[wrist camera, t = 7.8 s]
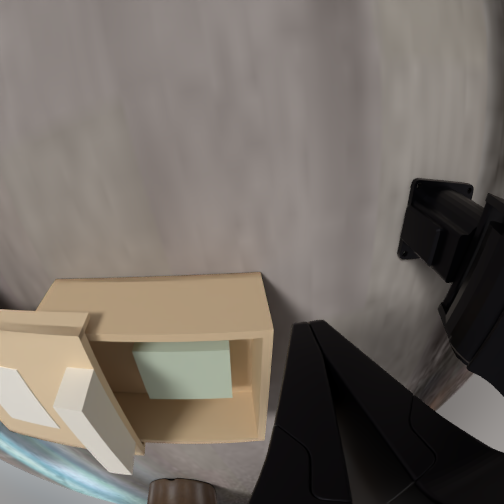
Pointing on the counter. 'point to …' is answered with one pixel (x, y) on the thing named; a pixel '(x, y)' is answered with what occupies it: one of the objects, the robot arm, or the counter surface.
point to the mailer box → (179, 351)
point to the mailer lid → (61, 388)
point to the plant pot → (181, 492)
